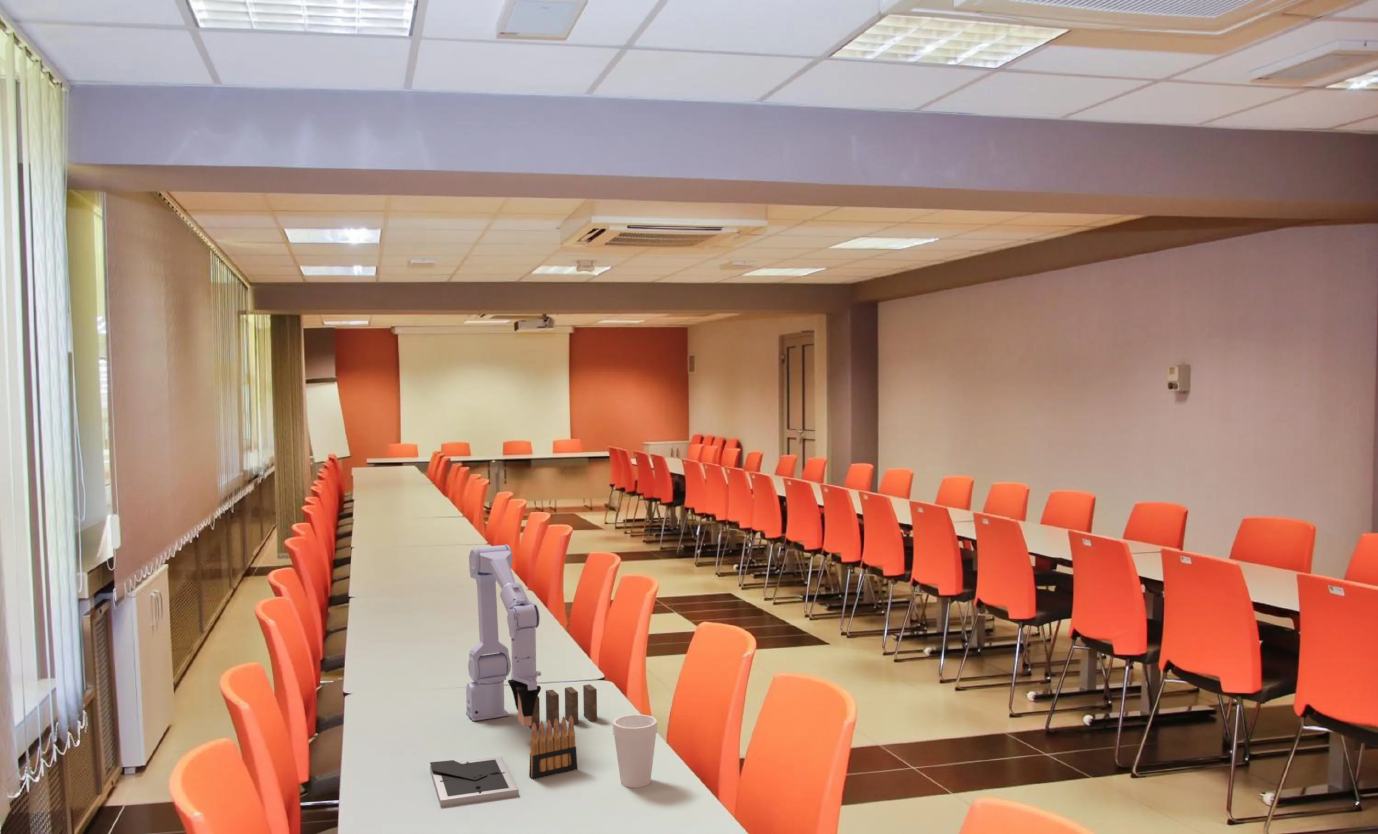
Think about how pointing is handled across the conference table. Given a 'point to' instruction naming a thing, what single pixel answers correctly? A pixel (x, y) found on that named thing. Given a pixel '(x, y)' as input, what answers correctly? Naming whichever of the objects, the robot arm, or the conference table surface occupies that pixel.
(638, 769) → the foam cup
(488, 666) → the robot arm
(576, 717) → the tile
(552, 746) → the ammunition clip
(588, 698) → the brown flat block
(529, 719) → the tile
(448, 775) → the picture frame
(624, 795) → the conference table surface
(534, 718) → the brown rectangular block
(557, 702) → the tile
